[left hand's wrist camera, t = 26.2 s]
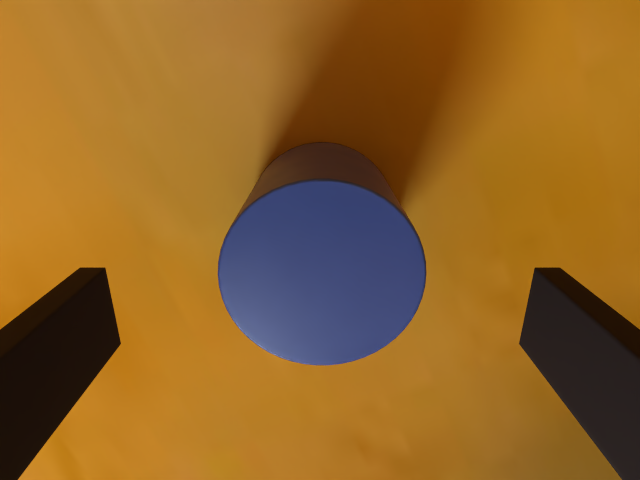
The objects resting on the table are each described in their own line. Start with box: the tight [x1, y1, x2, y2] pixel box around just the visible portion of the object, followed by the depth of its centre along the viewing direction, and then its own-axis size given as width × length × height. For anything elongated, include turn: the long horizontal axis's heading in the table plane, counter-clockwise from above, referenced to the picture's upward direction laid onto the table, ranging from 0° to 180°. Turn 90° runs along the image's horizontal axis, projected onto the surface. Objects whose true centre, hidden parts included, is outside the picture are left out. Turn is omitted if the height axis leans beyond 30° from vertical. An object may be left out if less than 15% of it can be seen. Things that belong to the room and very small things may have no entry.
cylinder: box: [218, 143, 426, 365], centre depth 17 cm, size 7×7×7 cm
